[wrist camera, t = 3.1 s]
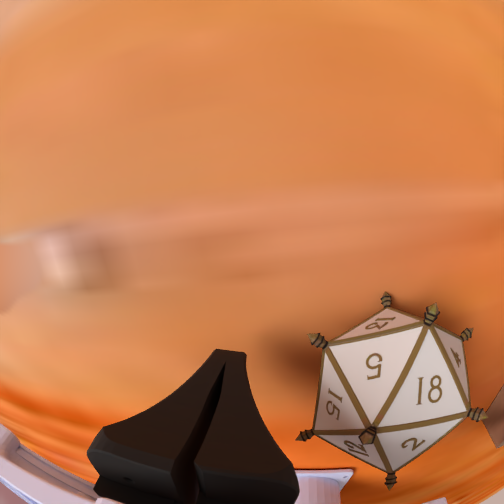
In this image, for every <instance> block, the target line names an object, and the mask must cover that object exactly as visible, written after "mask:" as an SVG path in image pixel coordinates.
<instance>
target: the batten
mask: <svg viewBox="0 0 504 504" xmlns="http://www.w3.org/2000/svg"><path fill="white" fill-rule="evenodd" d="M486 415H487V416H488V418H486V419H482V421H483V423H484V425H485V427H486V429H487V431H488V432H489V434H490V436H491V438H492V440H493V442H494V444H495V446H496V448H499V447H501V446H503V445H504V385H503V387H502V388H501V390H500V392H499V393H498V395H497V396H496V398H495V400H494V401H493V403H492V404H491V406H490V407H489V409H488V410H487V411H486Z"/></svg>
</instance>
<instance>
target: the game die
mask: <svg viewBox="0 0 504 504" xmlns="http://www.w3.org/2000/svg"><path fill="white" fill-rule="evenodd" d="M381 300H382V303H381V304H383V306H384V309H382V310H381V311H379V312H378V313H376V314H374V315H373V316H371V317H370V318H368V319H366V320H365V321H363V322H361V323H360V324H358V325H356V326H355V327H353V328H351V329H350V330H348V331H346V332H345V333H343V334H341V335H339V336H338V337H336V338H334V339H332V340H331V341H329V342H327V341H326V340H325V339H324V336H321V335H320V333H318V334H308V336H309V338H310V340H311V344H312V345H313V344H314V345H316V347H317V348H318V347H320V348H323V350H322V359H321V368H320V377H319V385H318V393H317V400H316V407H315V414H314V420H313V427H312V429H311V430H305V431H303V432H301V431H300V434H299V436H298V437H297V438H296V440H299V441H306V440H307V439H311V437H312V436H313V435H316V436H317V437H319V438H321V439H323V440H324V441H326V442H328V443H330V444H331V445H333V446H335V447H337V448H339V449H340V450H342V451H344V452H346V453H348V454H350V455H352V456H354V457H355V458H357V459H359V460H361V461H363V462H365V463H367V464H369V465H371V466H373V467H375V468H378V469H380V470H382V471H384V472H386V473H388V475H387V477H386V478H385V479H386V482H385V485H387V487H388V489H389V491H390V489H391V488H392V487H393V485H394V484H395V483H397V481H396V478H397V477H396V476H395V472H396V471H398V470H399V469H401V468H402V467H404V466H406V465H407V464H408V463H410V462H411V461H413V460H414V459H416V458H417V457H419V456H420V455H421V454H423V453H424V452H425V451H427V450H428V449H429V448H431V447H432V446H433V445H435V444H436V443H437V442H439V441H440V440H441V439H442V438H444V437H445V436H446V435H447V434H448V433H450V432H451V431H452V430H453V429H454V428H455V427H457V426H458V425H459V424H460V423H461V422H462V421H463V420H465V419H466V418H467V417H470V418H471V419H472V420H476V422H478V421H479V420H482V419H486V418H488V416H487V415H486V413H485V412H484V410H483V408H482V409H478V407H477V408H475V409H472V408H471V402H470V390H469V380H468V372H467V365H466V358H465V351H464V345H463V341H465V340H468V338H471V335H472V331H473V328H469V329H468V328H466V329H465V330H464V331H463V332H462V333H461V336H458V335H457V334H455V333H453V332H451V331H449V330H447V329H445V328H443V327H441V326H439V325H438V324H436V323H434V321H435V320H436V319H437V315H438V314H439V313H440V312H439V311H438V307H437V303H435V304H433V305H431V306H429V307H426V312H425V313H424V314H425V318H422V317H419V316H416V315H413V314H410V313H407V312H404V311H401V310H399V309H396V308H393V307H391V306H390V304H391V296H389V295H388V294H387V293H386V291H385V293H384V295H383V297H382V298H381Z"/></svg>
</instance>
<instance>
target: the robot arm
mask: <svg viewBox="0 0 504 504" xmlns="http://www.w3.org/2000/svg"><path fill="white" fill-rule="evenodd" d="M246 356H247V355H246V354H245V353H244V352H237V351H229V350H221V349H216V350H214V351H213V353H212V354H211V355H210V356H209V358H208V359H207V360H206V361H205V362H204V364H203V365H202V366H201V367H200V368H199V369H198V370H197V371H196V372H195V373H194V374H193V375H192V376H191V377H190V378H189V379H188V380H187V381H186V382H185V383H184V384H183V385H181V386H180V387H179V388H178V389H177V390H176V391H174V392H173V393H172V394H170V395H169V396H168V397H166V398H165V399H163V400H162V401H160V402H159V403H157V404H156V405H154V406H152V407H151V408H149V409H147V410H145V411H143V412H141V413H139V414H137V415H135V416H133V417H131V418H128V419H126V420H123V421H120V422H117V423H114V424H111V425H108V426H104V427H103V428H102V429H101V430H100V432H99V433H98V434H97V436H96V437H95V439H94V440H93V442H92V444H91V445H90V447H89V449H88V450H87V456H88V458H89V460H90V462H91V463H92V465H93V466H94V468H95V469H96V470H97V472H98V473H99V475H100V476H99V478H98V480H97V482H96V484H93V483H90V482H88V481H86V480H84V479H82V478H80V477H78V476H76V475H74V474H72V473H70V472H68V471H66V470H64V469H62V468H60V467H58V466H57V465H55V464H53V463H51V462H50V461H48V460H46V459H44V458H43V457H41V456H39V455H38V454H36V453H35V452H33V451H31V450H30V449H28V448H27V447H25V446H24V445H22V444H21V443H20V441H19V440H18V438H17V437H16V436H15V435H14V434H13V433H12V432H11V431H10V430H9V429H8V428H6V427H5V426H3V425H2V424H1V423H0V482H2V483H3V484H4V485H5V486H7V487H8V488H9V489H10V490H11V491H13V492H14V493H15V494H17V495H18V496H19V497H21V498H22V499H23V500H25V501H26V502H27V503H29V504H341V501H340V491H341V490H342V488H343V487H344V486H345V484H346V483H347V482H348V480H349V479H350V478H351V476H352V475H353V470H352V469H340V470H294V467H293V464H292V463H291V461H290V460H289V459H288V458H287V457H286V455H285V454H284V453H283V452H282V450H281V449H280V448H279V446H278V445H277V443H276V442H275V441H274V439H273V437H272V436H271V434H270V432H269V431H268V429H267V427H266V426H265V424H264V422H263V420H262V418H261V416H260V414H259V411H258V409H257V407H256V404H255V401H254V399H253V396H252V393H251V389H250V385H249V381H248V377H247V371H246ZM422 504H447V500H446V497H442V498H439V499H436V500H432V501H429V502H425V503H422Z"/></svg>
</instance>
